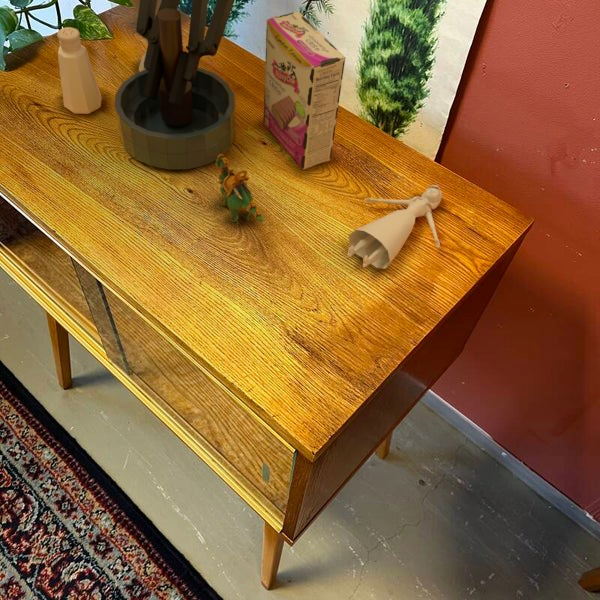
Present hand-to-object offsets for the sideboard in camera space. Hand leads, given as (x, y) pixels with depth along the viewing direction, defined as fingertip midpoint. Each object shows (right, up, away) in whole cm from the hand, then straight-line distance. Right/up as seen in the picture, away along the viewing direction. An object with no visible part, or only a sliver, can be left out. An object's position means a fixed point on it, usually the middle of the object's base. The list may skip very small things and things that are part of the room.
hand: (162, 100), depth 86 cm
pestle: (+1, 0, +6) cm, 6 cm away
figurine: (+10, -15, -2) cm, 19 cm away
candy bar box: (+17, -4, +7) cm, 19 cm away
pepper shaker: (-13, +2, +9) cm, 16 cm away
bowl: (+1, -3, +6) cm, 7 cm away
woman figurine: (+30, -17, -2) cm, 35 cm away
